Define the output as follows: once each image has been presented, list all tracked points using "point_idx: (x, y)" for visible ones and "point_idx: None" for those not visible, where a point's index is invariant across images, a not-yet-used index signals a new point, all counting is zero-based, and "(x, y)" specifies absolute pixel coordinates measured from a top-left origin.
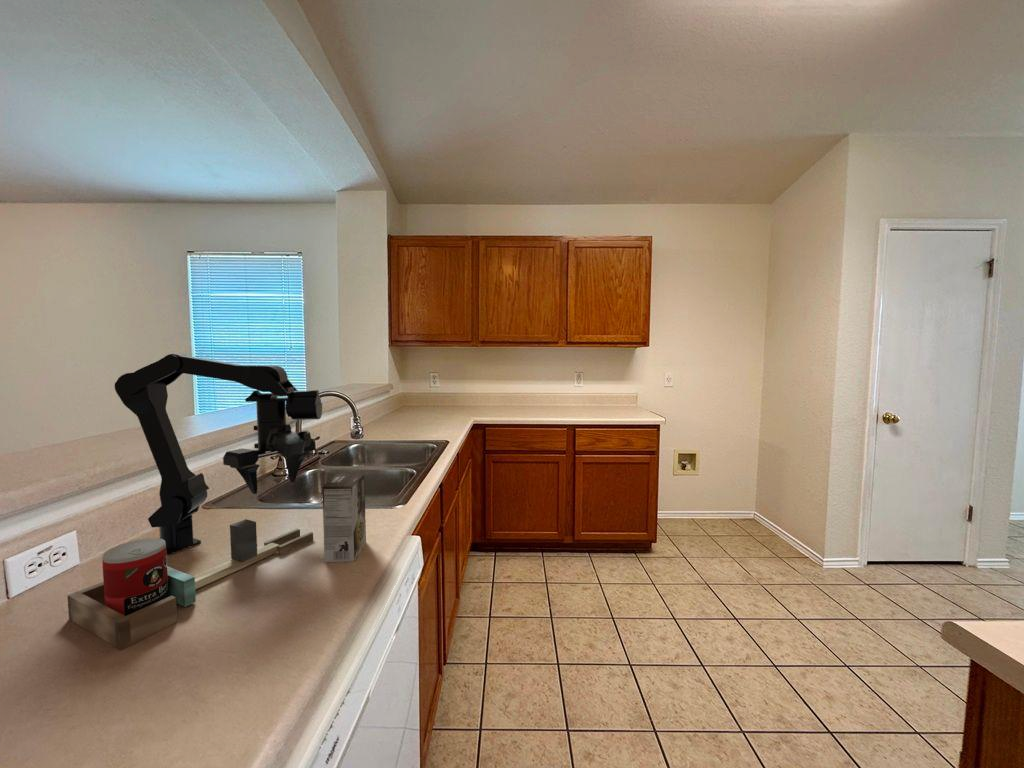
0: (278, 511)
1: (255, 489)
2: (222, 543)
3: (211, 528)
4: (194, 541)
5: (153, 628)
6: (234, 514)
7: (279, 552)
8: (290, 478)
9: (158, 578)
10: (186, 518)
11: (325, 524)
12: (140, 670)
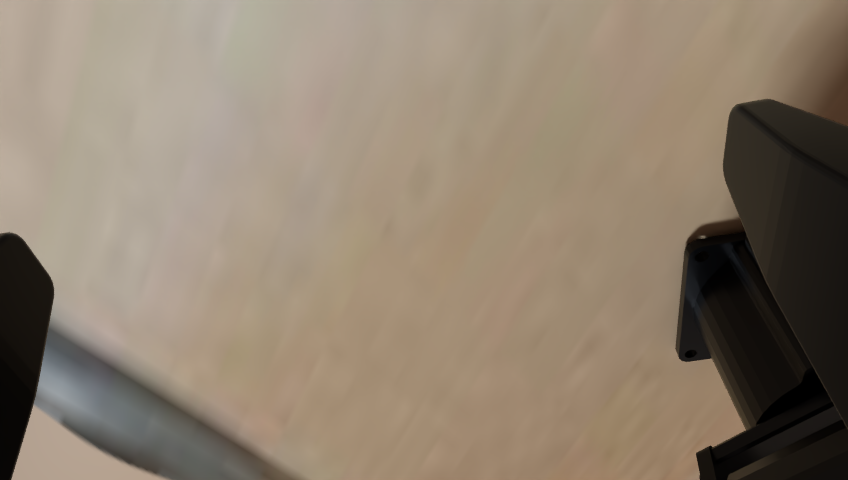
0: (182, 364)
1: (817, 127)
2: (631, 153)
3: (538, 378)
4: (713, 266)
5: None
6: (379, 457)
7: None
8: (24, 326)
9: None
10: (813, 393)
11: None
12: None
